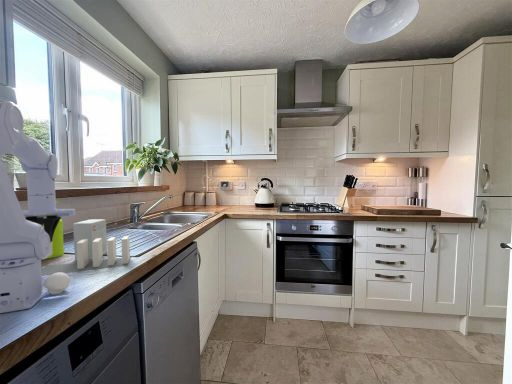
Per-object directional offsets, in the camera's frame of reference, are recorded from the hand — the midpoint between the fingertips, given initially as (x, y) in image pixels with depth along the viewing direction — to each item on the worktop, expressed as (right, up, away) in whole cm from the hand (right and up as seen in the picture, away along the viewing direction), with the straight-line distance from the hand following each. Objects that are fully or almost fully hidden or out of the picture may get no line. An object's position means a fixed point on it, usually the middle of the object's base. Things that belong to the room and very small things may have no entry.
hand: (44, 242), depth 65 cm
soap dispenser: (-14, -9, +19) cm, 25 cm away
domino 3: (+9, -9, +9) cm, 16 cm away
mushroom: (+11, -11, -9) cm, 18 cm away
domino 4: (+13, -9, +11) cm, 19 cm away
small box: (+1, -9, +18) cm, 20 cm away
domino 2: (+5, -9, +8) cm, 13 cm away
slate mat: (+6, -10, +8) cm, 14 cm away
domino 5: (+16, -9, +12) cm, 22 cm away
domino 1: (0, -4, 0) cm, 4 cm away
